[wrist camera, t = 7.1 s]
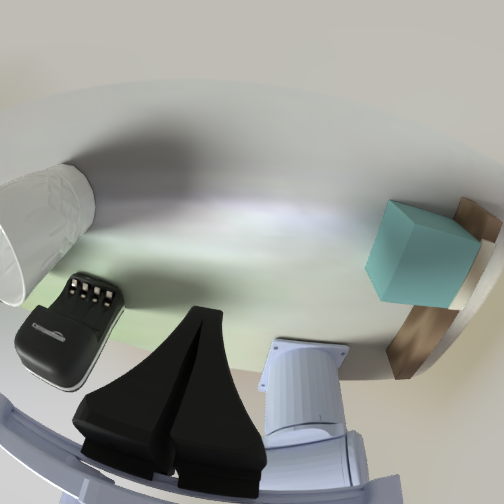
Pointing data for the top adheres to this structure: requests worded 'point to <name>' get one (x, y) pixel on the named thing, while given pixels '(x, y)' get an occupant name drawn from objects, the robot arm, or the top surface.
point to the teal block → (419, 257)
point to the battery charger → (70, 332)
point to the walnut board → (439, 319)
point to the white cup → (40, 226)
